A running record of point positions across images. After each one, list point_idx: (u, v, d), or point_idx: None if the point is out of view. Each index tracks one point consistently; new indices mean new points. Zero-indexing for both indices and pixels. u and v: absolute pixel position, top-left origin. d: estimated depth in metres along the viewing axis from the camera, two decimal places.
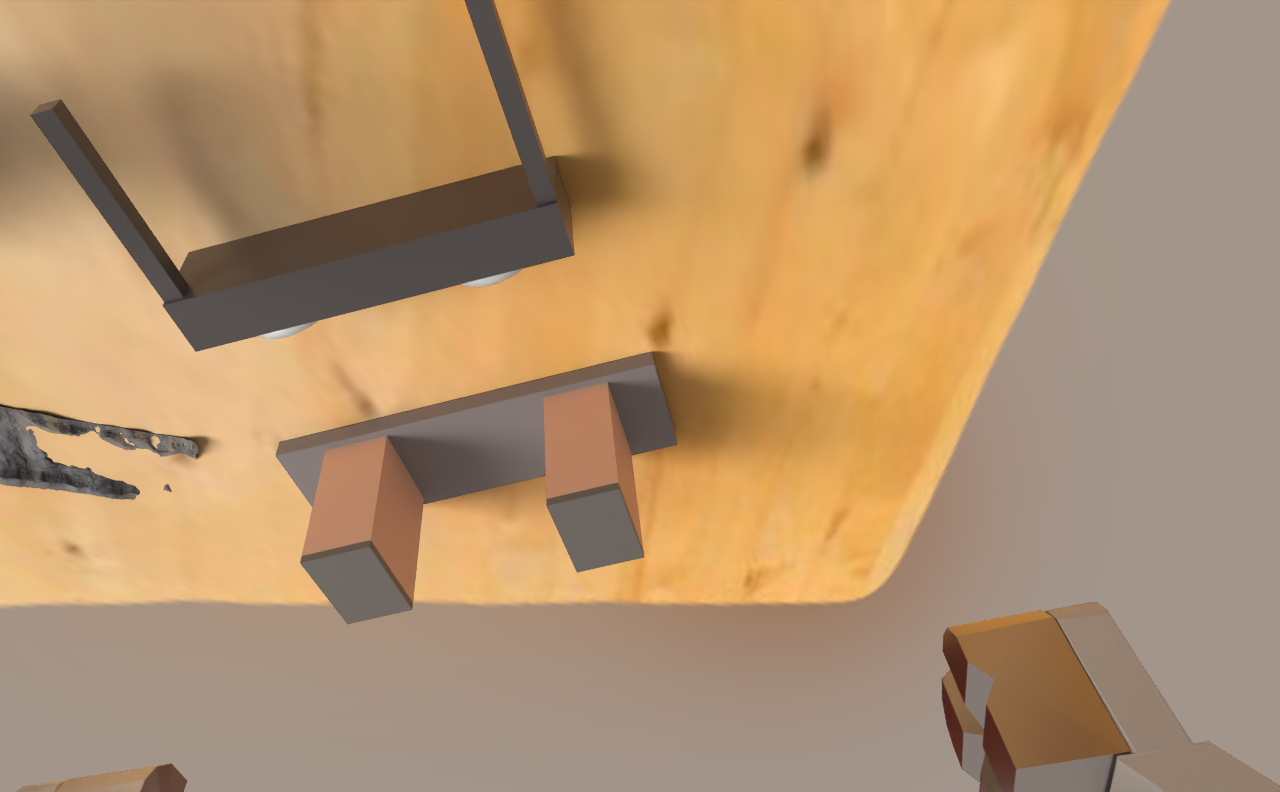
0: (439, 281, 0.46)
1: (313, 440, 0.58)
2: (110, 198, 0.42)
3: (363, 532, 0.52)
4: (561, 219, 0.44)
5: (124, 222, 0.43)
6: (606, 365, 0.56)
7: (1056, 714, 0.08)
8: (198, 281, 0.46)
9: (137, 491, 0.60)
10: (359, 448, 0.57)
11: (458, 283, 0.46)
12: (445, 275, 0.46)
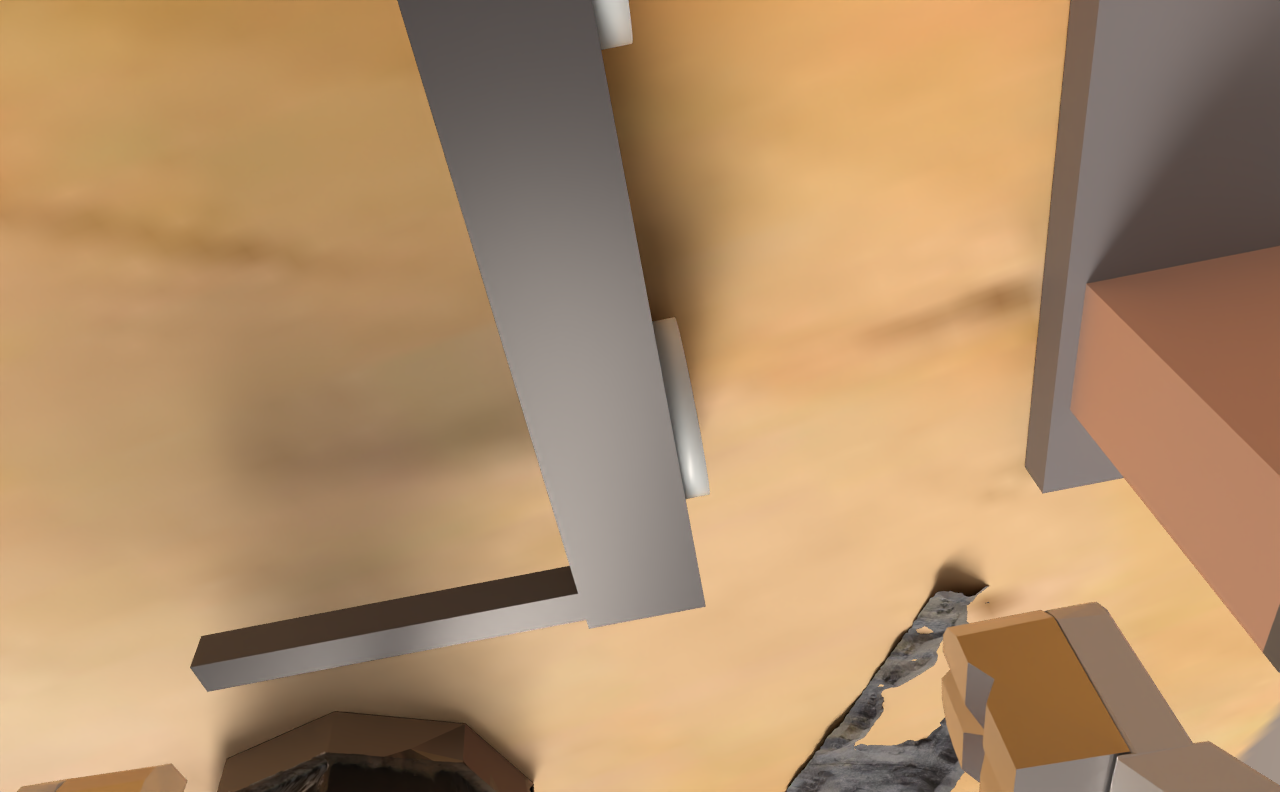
0: (582, 95, 0.16)
1: (1039, 418, 0.26)
2: (360, 639, 0.23)
3: None
4: None
5: (410, 633, 0.23)
6: None
7: (1055, 713, 0.08)
8: None
9: None
10: (1089, 352, 0.24)
11: (594, 40, 0.15)
12: (563, 74, 0.16)
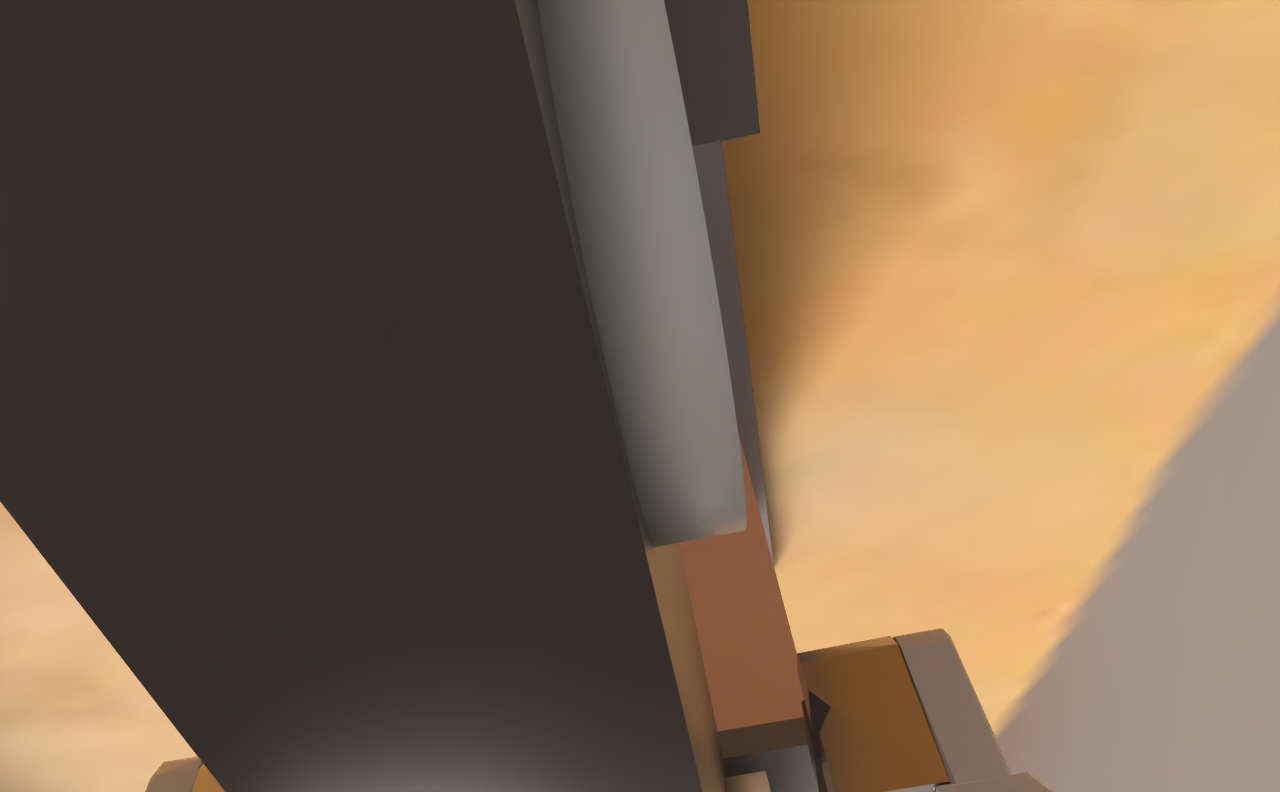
0: (615, 735, 0.06)
1: None
2: None
3: None
4: None
5: None
6: None
7: (885, 742, 0.08)
8: None
9: None
10: None
11: (652, 640, 0.05)
12: (565, 701, 0.06)
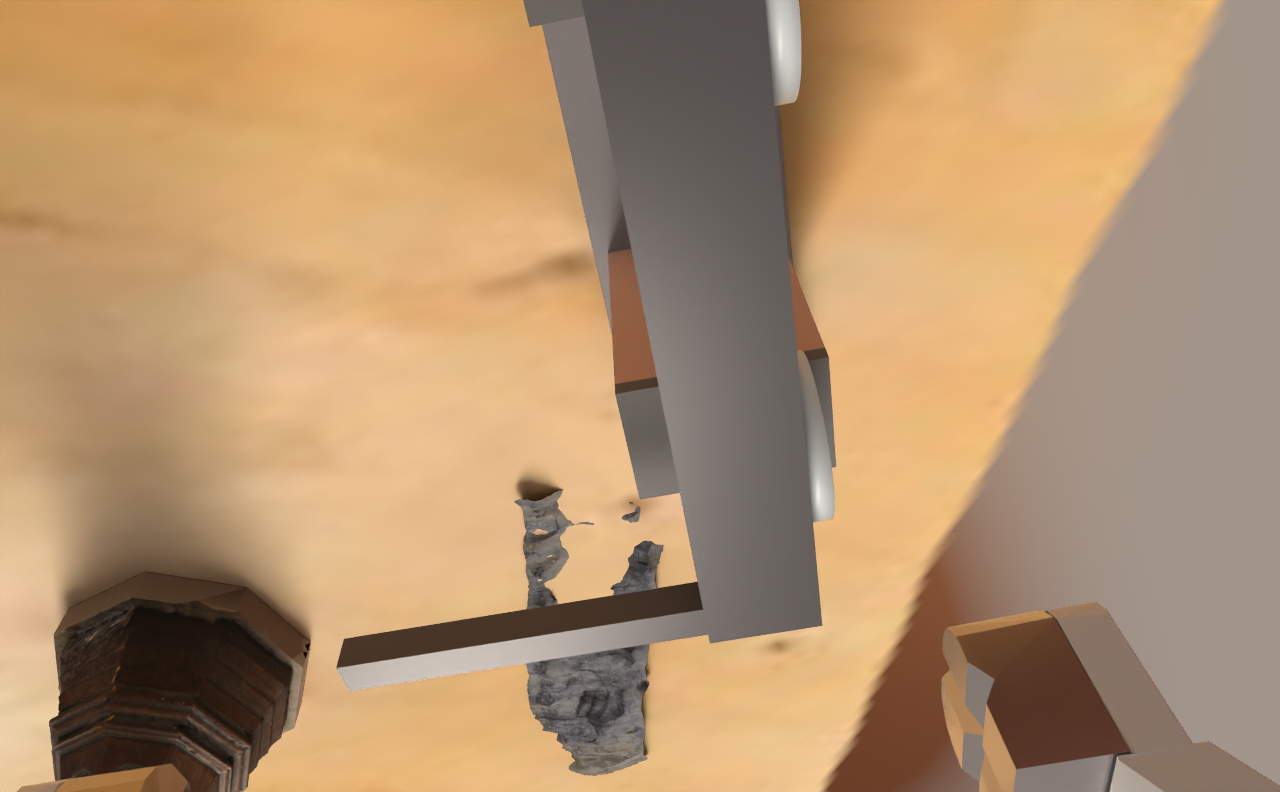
0: (753, 154, 0.17)
1: None
2: (494, 646, 0.25)
3: None
4: None
5: (541, 643, 0.25)
6: None
7: (1056, 713, 0.08)
8: None
9: (645, 545, 0.43)
10: None
11: (770, 105, 0.17)
12: (738, 135, 0.17)
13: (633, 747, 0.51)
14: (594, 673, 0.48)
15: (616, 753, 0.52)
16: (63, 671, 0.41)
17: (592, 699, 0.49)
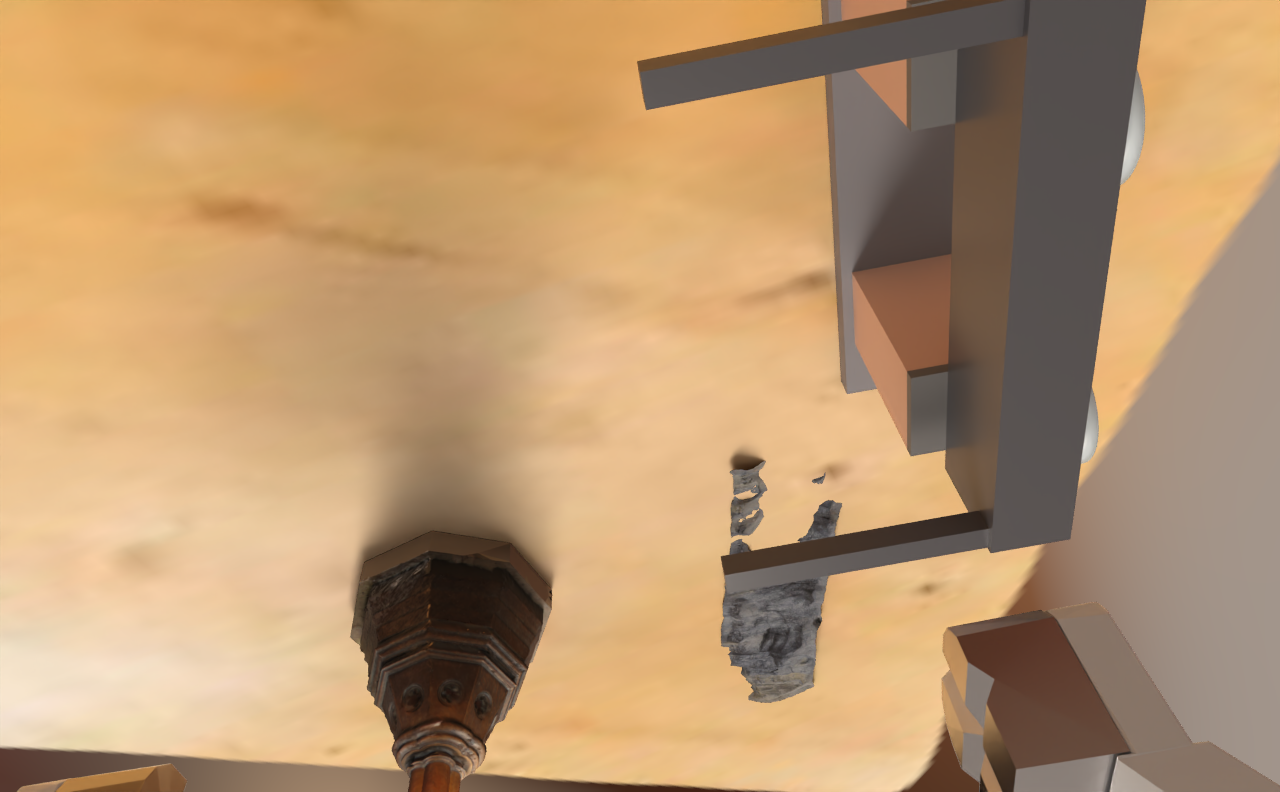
0: (1099, 223, 0.27)
1: (842, 349, 0.47)
2: (838, 558, 0.35)
3: (901, 372, 0.38)
4: None
5: (871, 555, 0.35)
6: None
7: (1056, 713, 0.08)
8: (978, 498, 0.35)
9: (828, 503, 0.54)
10: (856, 309, 0.44)
11: (1116, 194, 0.27)
12: (1092, 212, 0.27)
13: (804, 676, 0.62)
14: (778, 613, 0.58)
15: (789, 682, 0.62)
16: (374, 611, 0.51)
17: (775, 635, 0.59)
